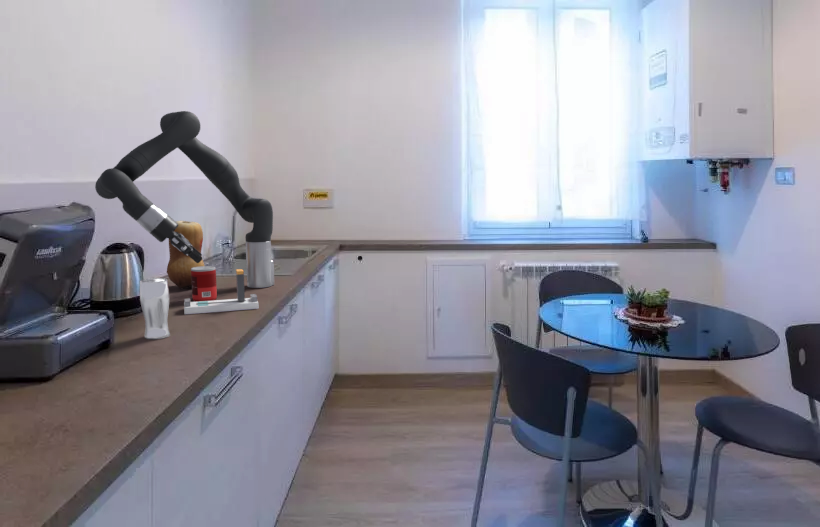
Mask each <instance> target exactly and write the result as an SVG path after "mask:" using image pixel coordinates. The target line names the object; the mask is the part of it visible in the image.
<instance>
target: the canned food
mask: <svg viewBox="0 0 820 527" xmlns="http://www.w3.org/2000/svg"><path fill="white" fill-rule="evenodd" d="M216 271H217V268H216V266H211V265H207V266H206V265H204V266H200V267H194V268H191V281H192V287H191V294H192V296H191V298H192V300H193V301H192V302H199V301H213V300H217V297H218V291H217V290H218V289H217V288H218V286H217V272H216Z"/></svg>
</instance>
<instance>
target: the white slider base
mask: <svg viewBox="0 0 820 527" xmlns="http://www.w3.org/2000/svg"><path fill="white" fill-rule="evenodd" d="M249 296H250V297H245V301H241V302H238V300H237V298H228V299H216V300H213V301H199V302H195V301H191V298H184V302H183V310H184V315H194V314H206V313H220V312H230V311H243V310H244V311H246V310H259V309H260V308H259V307H260V305H259V301H258V296H257V293H250V294H249Z"/></svg>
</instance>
